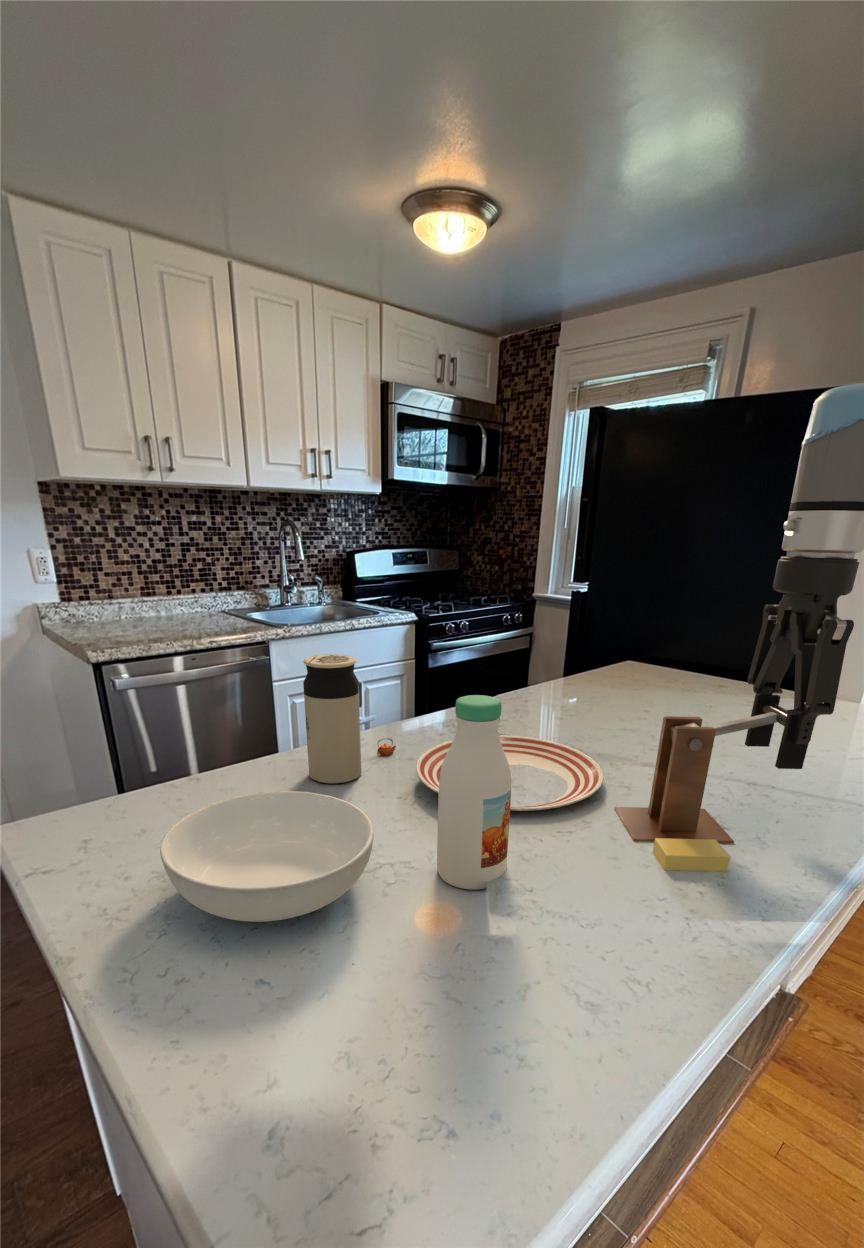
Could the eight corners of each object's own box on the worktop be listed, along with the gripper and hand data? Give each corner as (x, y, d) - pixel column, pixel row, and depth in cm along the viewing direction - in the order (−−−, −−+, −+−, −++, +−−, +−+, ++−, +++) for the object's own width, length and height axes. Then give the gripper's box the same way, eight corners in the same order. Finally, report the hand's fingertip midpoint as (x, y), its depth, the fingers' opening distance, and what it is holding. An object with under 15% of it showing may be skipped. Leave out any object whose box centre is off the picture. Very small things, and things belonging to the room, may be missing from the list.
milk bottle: (455, 898, 63) (461, 714, 56) (426, 862, 70) (428, 693, 63) (518, 882, 66) (532, 705, 59) (485, 850, 73) (493, 687, 65)
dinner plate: (592, 841, 75) (595, 817, 74) (387, 807, 83) (387, 785, 82) (607, 765, 99) (609, 746, 98) (447, 745, 108) (448, 727, 106)
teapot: (381, 749, 105) (380, 735, 104) (397, 752, 104) (396, 737, 103) (373, 755, 102) (373, 740, 101) (390, 757, 101) (390, 742, 100)
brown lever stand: (702, 818, 82) (723, 712, 76) (731, 852, 73) (758, 735, 68) (613, 816, 82) (627, 710, 76) (632, 849, 73) (650, 733, 68)
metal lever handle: (776, 716, 75) (775, 697, 74) (802, 731, 69) (802, 711, 68) (667, 740, 76) (665, 722, 75) (684, 757, 71) (682, 738, 70)
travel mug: (367, 767, 97) (364, 655, 90) (352, 787, 90) (348, 666, 83) (319, 763, 98) (313, 652, 92) (301, 782, 91) (293, 663, 84)
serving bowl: (284, 982, 51) (277, 914, 49) (124, 909, 61) (112, 848, 58) (411, 870, 68) (411, 815, 66) (271, 826, 78) (266, 776, 75)
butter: (711, 862, 71) (715, 839, 70) (725, 880, 67) (731, 856, 66) (650, 860, 71) (654, 837, 70) (662, 879, 67) (666, 855, 66)
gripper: (741, 550, 74) (707, 729, 83) (840, 559, 56) (783, 788, 64) (803, 551, 74) (763, 730, 83) (922, 560, 56) (854, 789, 64)
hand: (771, 755), depth 73 cm, fingers open, 7 cm apart
